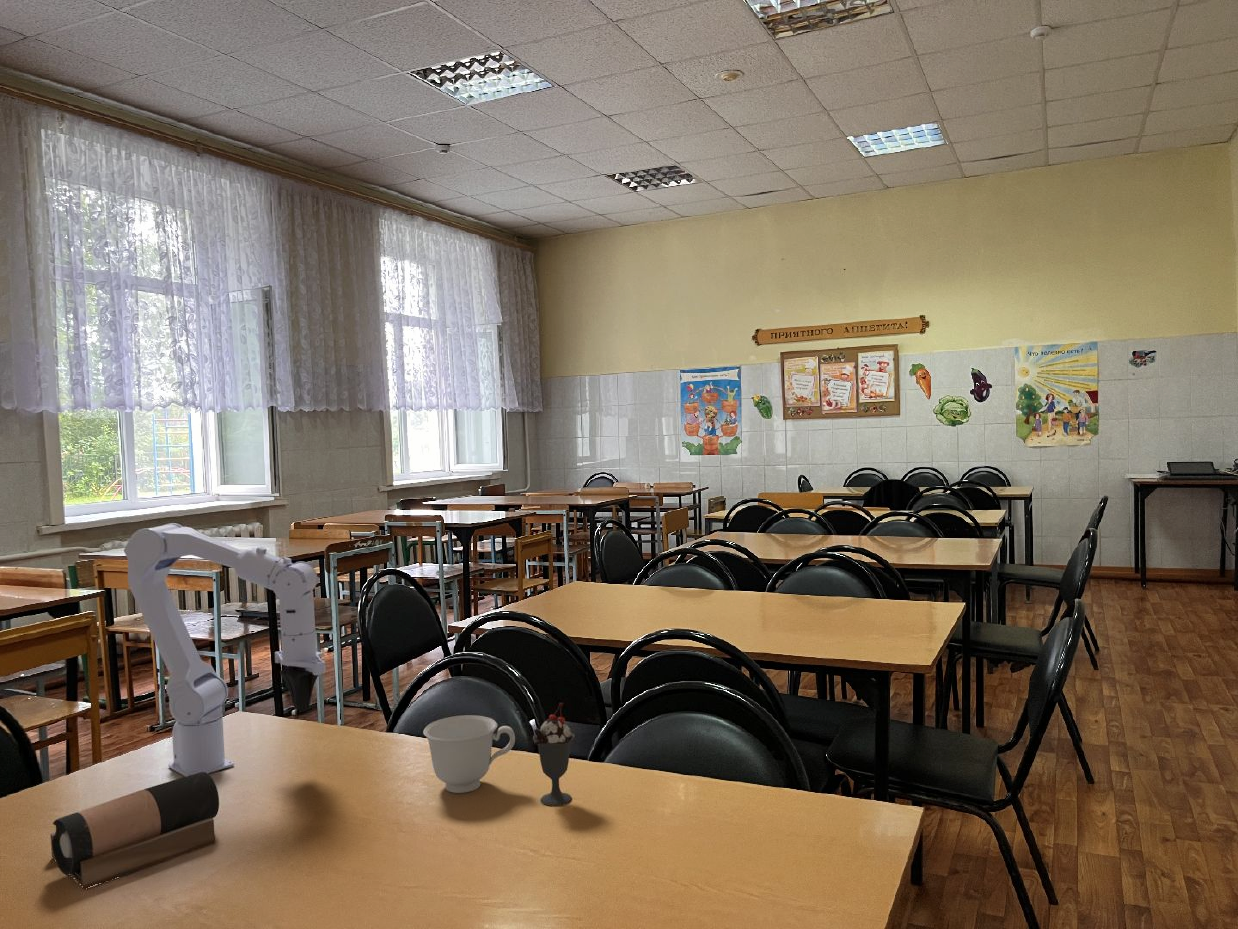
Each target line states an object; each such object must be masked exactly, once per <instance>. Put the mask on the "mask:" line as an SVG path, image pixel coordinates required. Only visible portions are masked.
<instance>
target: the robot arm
mask: <svg viewBox="0 0 1238 929" xmlns="http://www.w3.org/2000/svg"><path fill="white" fill-rule="evenodd" d="M126 543H127V544H126V545H125V547H124V550H123V552H124V554H125V556H126V558H127V584H128V586H129V587H128V588H129V589H130V591H131V594H132V596H133V598H134V601H135V602H136V605H137V607H138V609H139V611H140V614H141V615H142V617H143V619H144V622H145V624H146V626H147V628H148V630H149V633H150V634H151V637H152V639H153V641H154V643H155V645H156V648H157V649H158V652H159V654H160V656H161V658H162V660H163V663H164V664H165V667H166V669H167V671H168V673H169V677H168V679H167V680H168V681H167V682H166V687H165V690H166V693H167V696H168V701H169V702H168V703H169V704H168V708H169V713H170V715H171V716H172V718H173V719H174V720H175V723H174V725H173V728H172V730H171V736H172V737H171V739H172V755H173V762H170V763H168V766H167V767H169V768H170V769H172V770H173V771H175V772H177V773H178V774H180V775H182V776H183V777H186V776H189V775H193V774H196V773H200V772H206V773H208V774H210V773H214V772H217V771H220V770H224V769H227V768H231V767H234V765H235V763H234V762H233V761H232V760H230V759H228V758H225V757H226V756H225V742H224V741H225V738H224V721H223V720H224V719H223V705H224V704H225V702H226V701H227V700H228V697H229V687H228V685H227V683H226V681H225V680H224V679H223V678H222V677H221V676H219V675H218V673H217V672H216V671H215V669H214V667H213V666H212V665H211V664H209V663H208V662H206V661H204V660H203V659H201V656H200V655H199V652H198V650H197V647H196V645H195V644H194V641H193V639H192V637H191V635H190V633H189V630H188V628H187V626H186V623H185V621H184V619H183V618H182V615H181V613H180V611H179V609H178V607H177V604H176V602H175V600H174V598H173V596H172V594H171V592H170V589H169V587H168V584H167V583H166V579H167V577H168V575H169V573H170V571H171V569H172V567H173V566H174V565H175V564H176V563H177V562H178V561H179V560H180V559H181V557H186V556H194V557H197V558H201V559H203V560H206V561H210V562H212V563H216V564H219V565H221V566H226V567H228V568H231V569H234V571H235V573H236V575H237V577H238V578H239V579H241V580H244V581H247V582H250V583H252V584H255V585H256V586H260V587H263V588H265V589H267V590H271V591H273V593H274V594H275V595H276V596H277V597H278V599H279V620H280V622H279V624H280V641H281V650H279V651H275V652H274V663H275V664H281V665H283V666H287V668H286V669H282V670H280V671H279V674H280V675H279V676H280V677H281V678H282V680H283V681H284V682H285V685H286V687H287V689H288V691H289V692H288V693H289V695H290V699H291V700H292V705H293V708H294V709H295V710H296V711H301V710H305V709H308V708H309V707H310V705H311V700H312V699H311V698H312V696H313V695H312V694H313V690H314V687H315V685H316V680H317V679H318V677H319V675H323V674H326V673H327V670H326V669H327V667H326V661H324V660H322V659H321V658H322V657H323V653H322V652H321V651H317V643H316V642H317V639H316V637H317V636H316V621H315V620H316V619H315V602H314V591H313V590H314V589H315V588H316V586H317V584H318V581H319V579H318V573H317V570H316V569H315V568H314V567H313V565H310V564H309V563H307V562H306V561H296V562H294V563H293V562H292V558H289V557H284V558H281V557H279V556H277V555H275V554H272V553H269V552H267V548H265V547H262V546H258V547H256V548H255V547H250V548H247V549H246V550H244V551H243V550H241V549H239V548H236V547H234V546H232V545H230V544H227V543H225V542H223V541H220V540H218V539H216V538H213V537H212V536H208V535H207V534H204V533H202V532H200V531H197V530H196V529H194V528H192V527H190V526H189V527H188V526H183V525H181V524H179V523H174V522H172V523H171V522H170V523H165V524H163V525H159V526H154V527H149V528H146V527H145V528H141V529H138V530H136V531H135V532H133V533H132V535H131V536H130V538H129V540H128V542H126Z"/></svg>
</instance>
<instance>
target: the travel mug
mask: <svg viewBox="0 0 1238 929" xmlns="http://www.w3.org/2000/svg"><path fill="white" fill-rule="evenodd" d="M219 809H220V796H219V792H218V787H217V785H216V783H215V781H214V779H213V777H212V775H210V773H206V772H200V773H196V774H193V775H189V776H186V777H185V776H183V777H181V778H177V779H173V780H170V781H166V782H163V783H160V784H156V785H154V786H150V787H148V788H144V789H141V790H138V791H134V792H131V793H129V794H127V795H123V796H119V797H117V798H115V799H111V800H108V801H106V802H103V803H100V804H97V805H93V806H91V807H88V808H85V809H82V810H80V811H77V812H74V813H71V814H68V815H65V816H62V817H59V818H57V819H55V820H54V821H53V822H52V825H53V826H55V832H56V833H55V832H54V833H55V836H54V837H53V838H52V850H53V854H54V858H55V860H56V862H55V863H56V865H57V867H58V868H59V870H60V872H61V873H62V874H64V875H69V874H72V873H75V872H77V871H80V870H81V861H84V860H87V859H90V858H93V857H96V856H99V855H102V854H105V853H108V852H111V851H114V850H117V849H120V848H123V847H126V846H129V845H132V844H135V843H138V842H141V841H144V840H147V839H150V838H152V837H155V836H158V835H161V834H164V833H167V832H170V831H173V830H176V829H179V828H182V827H185V826H188V825H191V824H194V823H197V822H200V821H203V820H206V819H209V818H212V819H215V818H216V816H217V815H218V813H219ZM69 876H70V875H69Z"/></svg>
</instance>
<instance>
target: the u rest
mask: <svg viewBox="0 0 1238 929" xmlns="http://www.w3.org/2000/svg"><path fill="white" fill-rule="evenodd" d="M214 820H215V818H213V819H212V818H209V819H206V820H203V821H200V822H197V823H194V824H191V825H188V826H185V827H182V828H179V829H176V830H173V831H170V832H167V833H164V834H161V835H158V836H155V837H152V838H150V839H147V840H144V841H141V842H138V843H135V844H132V845H129V846H126V847H123V848H120V849H117V850H114V851H111V852H108V853H105V854H102V855H99V856H96V857H93V858H90V859H87V860H84V861H81V870H80V871H77V872H75V873H72V874H70V875H71V876H72V877H73V878H75V880H76V881H77V882H78V883H79V884H81V886H83V888H84V889H86V888H88V887H90V886H93V885H95V884H99V883H103V884H105V883H104V882H106V881H109V882H111V881H110V880H112V879H114V880H116V879H115V878H117V877H120V878H122V876H123V877H126V876H127V875H128V876H129V875H131V874H134V873H137V872H139V871H143V870H144V869H147V868H150V867H153V866H156V865H159V864H162V863H163V862H168V861H170V860H172V859H176V858H178V857H180V856H183V855H186V854H189V853H193V852H195V851H198V850H201V849H204V848H206V847H209V846H211V845H215V844H216V836H215V823H214V822H215V821H214ZM55 833H56V831H55V832H51V833H50V848H51V849H50V850H51V858H52V857H53V859H55V858H54V854H53V850H52V838H53V837H54V836H55ZM53 859H52V860H53ZM70 875H69V876H70ZM125 875H126V876H125ZM71 876H70V877H71ZM72 877H71V878H72ZM73 878H72V879H73ZM117 879H118V878H117ZM75 880H74V881H75ZM76 881H75V882H76ZM112 881H113V880H112ZM77 882H76V883H77ZM78 883H77V884H78ZM106 883H107V882H106ZM79 884H78V885H79ZM81 886H80V887H81ZM83 888H82V889H83ZM84 889H83V890H84Z"/></svg>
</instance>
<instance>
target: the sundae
mask: <svg viewBox="0 0 1238 929" xmlns="http://www.w3.org/2000/svg"><path fill="white" fill-rule="evenodd" d="M563 705H564V702H559V705H558V706H557V710H556V711H554V713H553V714H550V715H549V717H548V718H547V719H546V720H544V721H543V723H542V724H541V726H540V729H539V728H538V727H537V728H536V729H534V730H533V732H534V735H533V736H532V741H533V743H534V745H535V746H537V748H538V754H539V760H540V761H539V762H540V764H541V769H542V772H543V774H545V776H547V777H548V778H549V779H550V780H551V792H549V793H547V794H544V795H543V796H542V797H541V798H540V803H541V804H543V805H545V806H547V807H548V806H549V807H560V806H561V807H562V806H564V804H565V805H567V804H569V803H570V802H572V800H573V797H572V796H571V794H569V793H567V792H562V791H561V788H560V778H561V777H563V776H564V775H565V774H566V772H567V771H568V768H569V761H570V753H571V752H570V750H571V742H572V741H573V740H574V739H575V736H576V735H575V733H572V732H571V729H570V728H569V726H568V725H567V724H566V723H565V722H566V719H565V717H563V715H562V706H563ZM558 710H559V714H560V716H559V717H557V715H556V714H557V713H558Z"/></svg>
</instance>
